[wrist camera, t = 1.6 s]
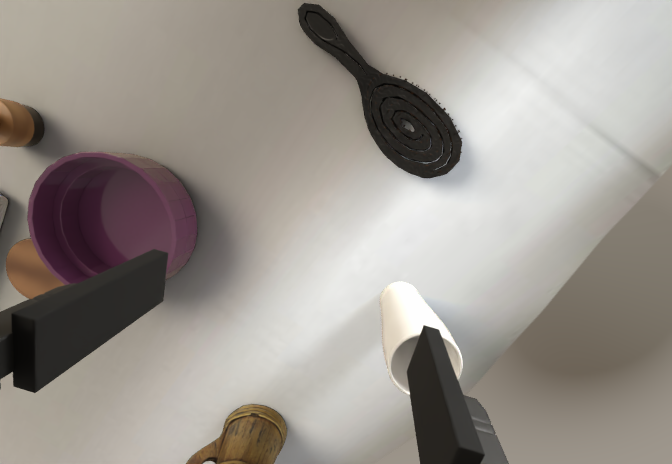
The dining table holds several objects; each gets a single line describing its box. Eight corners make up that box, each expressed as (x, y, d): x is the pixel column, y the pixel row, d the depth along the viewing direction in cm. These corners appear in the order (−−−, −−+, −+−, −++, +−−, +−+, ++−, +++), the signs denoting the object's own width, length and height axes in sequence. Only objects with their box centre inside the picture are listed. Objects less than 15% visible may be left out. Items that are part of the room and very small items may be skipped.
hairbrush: (324, -36, 33) (484, 142, 35) (328, -15, 37) (472, 145, 39) (270, 26, 35) (426, 195, 36) (278, 41, 38) (420, 193, 40)
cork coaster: (4, 237, 44) (-1, 238, 43) (68, 238, 43) (64, 239, 43) (16, 299, 45) (12, 301, 45) (78, 301, 45) (74, 303, 44)
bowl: (62, 153, 41) (15, 151, 35) (195, 154, 41) (169, 152, 35) (81, 281, 44) (40, 298, 39) (204, 284, 44) (181, 302, 38)
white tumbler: (434, 302, 43) (480, 371, 28) (395, 332, 44) (418, 413, 29) (403, 264, 42) (432, 316, 28) (363, 296, 43) (371, 361, 29)
